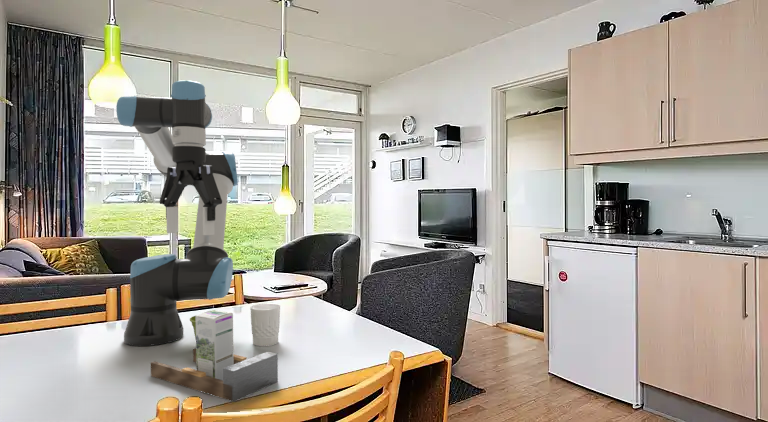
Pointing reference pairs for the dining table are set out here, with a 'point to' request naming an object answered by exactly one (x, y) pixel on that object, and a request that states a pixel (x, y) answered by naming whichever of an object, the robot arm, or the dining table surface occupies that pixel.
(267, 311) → the white cup
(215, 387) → the brown parallel rails
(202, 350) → the syrup box
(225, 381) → the connector block
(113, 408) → the dining table surface
